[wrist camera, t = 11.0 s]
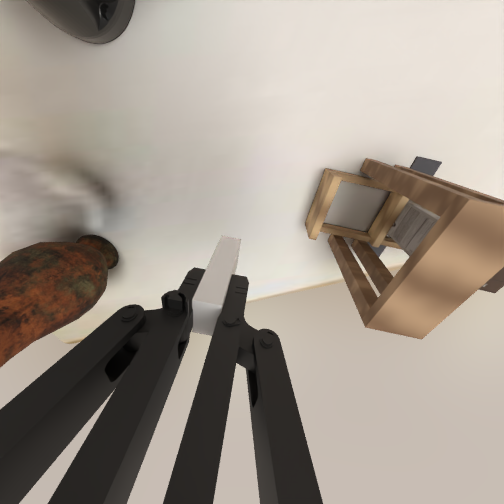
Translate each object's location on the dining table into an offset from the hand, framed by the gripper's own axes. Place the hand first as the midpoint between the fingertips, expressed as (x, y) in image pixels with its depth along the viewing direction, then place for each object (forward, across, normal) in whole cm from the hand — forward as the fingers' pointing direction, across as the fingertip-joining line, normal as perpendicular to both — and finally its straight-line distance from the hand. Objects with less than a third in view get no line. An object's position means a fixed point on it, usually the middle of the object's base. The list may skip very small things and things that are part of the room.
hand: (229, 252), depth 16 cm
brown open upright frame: (+24, +21, -2) cm, 32 cm away
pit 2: (+25, +27, +6) cm, 37 cm away
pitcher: (+25, -37, -26) cm, 52 cm away
